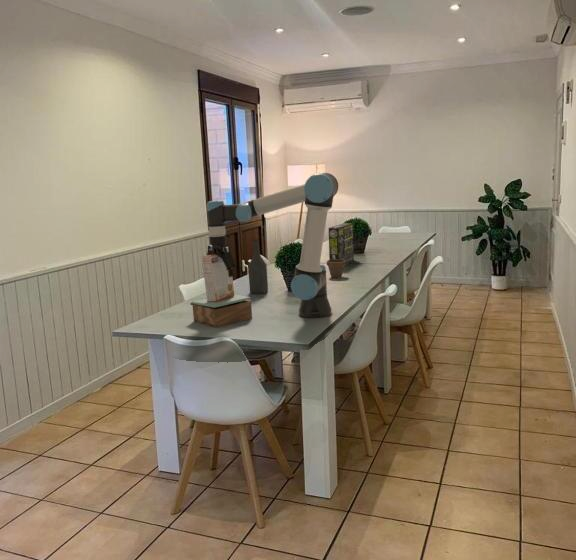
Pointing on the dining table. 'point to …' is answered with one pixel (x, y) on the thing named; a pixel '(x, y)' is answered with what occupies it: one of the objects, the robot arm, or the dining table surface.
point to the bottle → (257, 272)
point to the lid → (222, 301)
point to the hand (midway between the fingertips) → (221, 282)
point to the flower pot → (336, 267)
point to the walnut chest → (222, 313)
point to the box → (341, 242)
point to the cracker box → (216, 279)
